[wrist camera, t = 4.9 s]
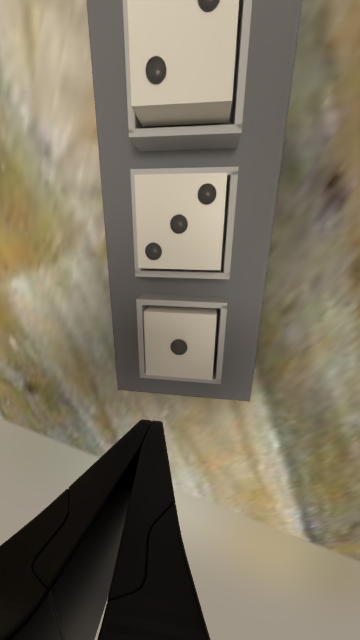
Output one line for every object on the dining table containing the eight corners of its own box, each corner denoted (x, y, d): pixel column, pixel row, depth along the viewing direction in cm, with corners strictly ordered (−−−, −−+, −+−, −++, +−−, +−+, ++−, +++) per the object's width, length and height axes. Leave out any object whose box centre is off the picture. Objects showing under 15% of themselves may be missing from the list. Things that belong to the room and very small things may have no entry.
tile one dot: (215, 307, 17) (216, 315, 15) (211, 366, 18) (212, 380, 16) (150, 304, 17) (143, 311, 15) (152, 362, 19) (145, 375, 17)
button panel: (300, -38, 13) (333, -141, 9) (247, 391, 21) (254, 417, 18) (95, -14, 14) (60, -96, 11) (123, 380, 22) (109, 403, 19)
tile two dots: (236, -1, 11) (243, -55, 9) (228, 122, 13) (232, 99, 11) (138, 9, 12) (125, -39, 10) (142, 126, 13) (130, 105, 11)
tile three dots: (224, 183, 14) (227, 171, 12) (219, 267, 15) (220, 270, 13) (144, 184, 14) (133, 173, 12) (146, 265, 16) (137, 268, 14)
